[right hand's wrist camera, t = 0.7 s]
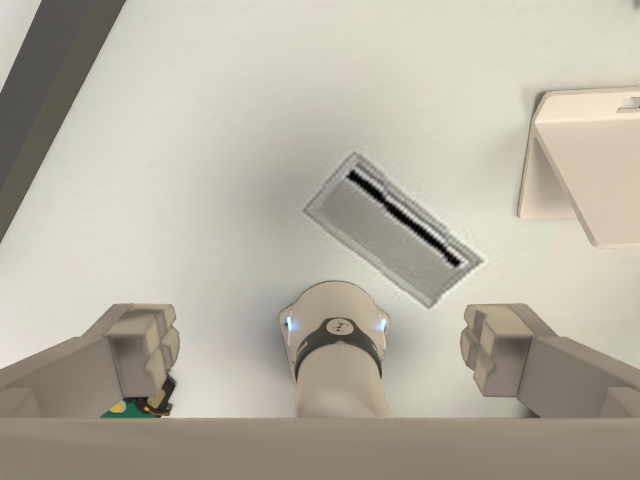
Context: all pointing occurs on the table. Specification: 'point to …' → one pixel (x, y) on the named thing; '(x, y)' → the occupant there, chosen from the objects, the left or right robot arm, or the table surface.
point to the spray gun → (143, 405)
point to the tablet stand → (586, 164)
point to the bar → (46, 88)
